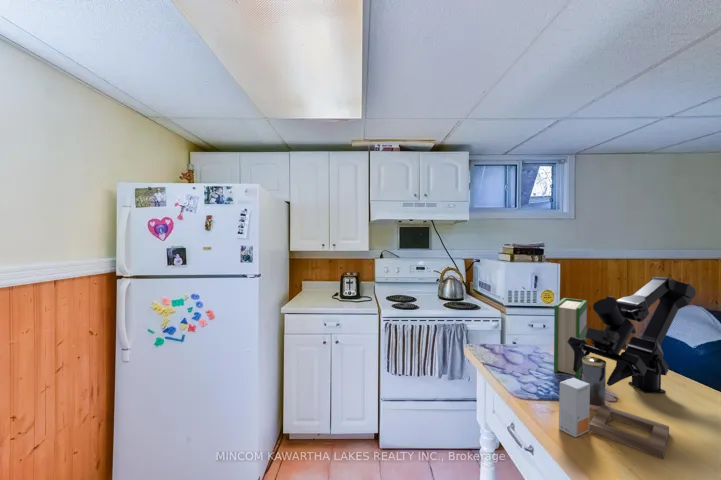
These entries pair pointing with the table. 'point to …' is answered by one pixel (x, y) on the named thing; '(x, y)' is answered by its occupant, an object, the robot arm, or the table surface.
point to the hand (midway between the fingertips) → (590, 377)
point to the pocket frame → (651, 446)
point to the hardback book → (568, 332)
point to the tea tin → (595, 378)
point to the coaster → (599, 406)
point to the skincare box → (574, 406)
